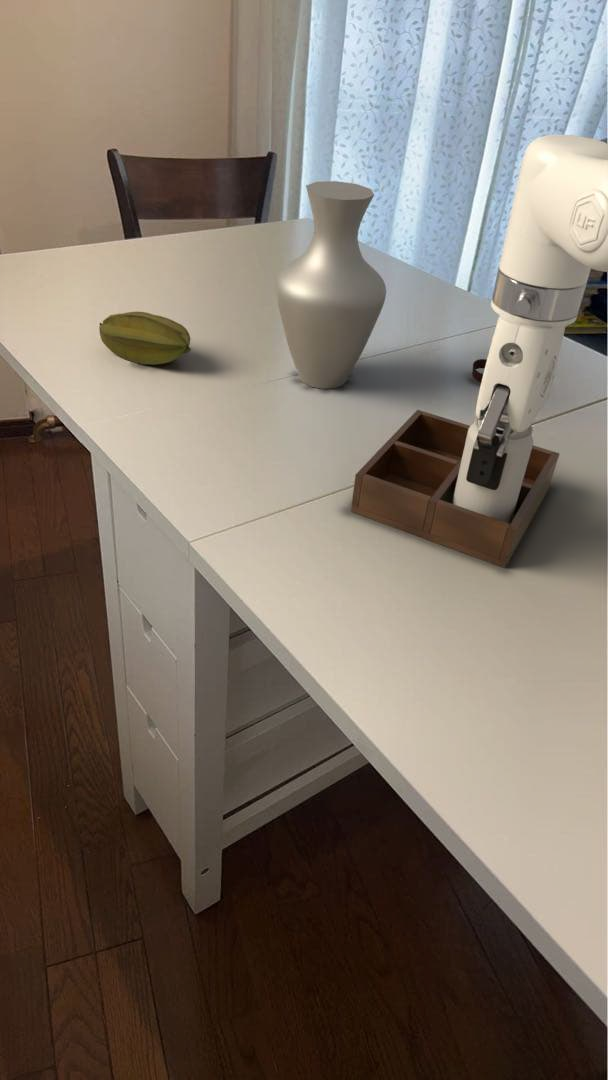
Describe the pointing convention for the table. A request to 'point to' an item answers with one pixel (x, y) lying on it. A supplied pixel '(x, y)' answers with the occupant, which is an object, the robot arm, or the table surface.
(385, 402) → the table surface
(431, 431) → the tray
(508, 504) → the beverage can
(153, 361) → the fruit
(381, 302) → the vase
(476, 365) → the watch
